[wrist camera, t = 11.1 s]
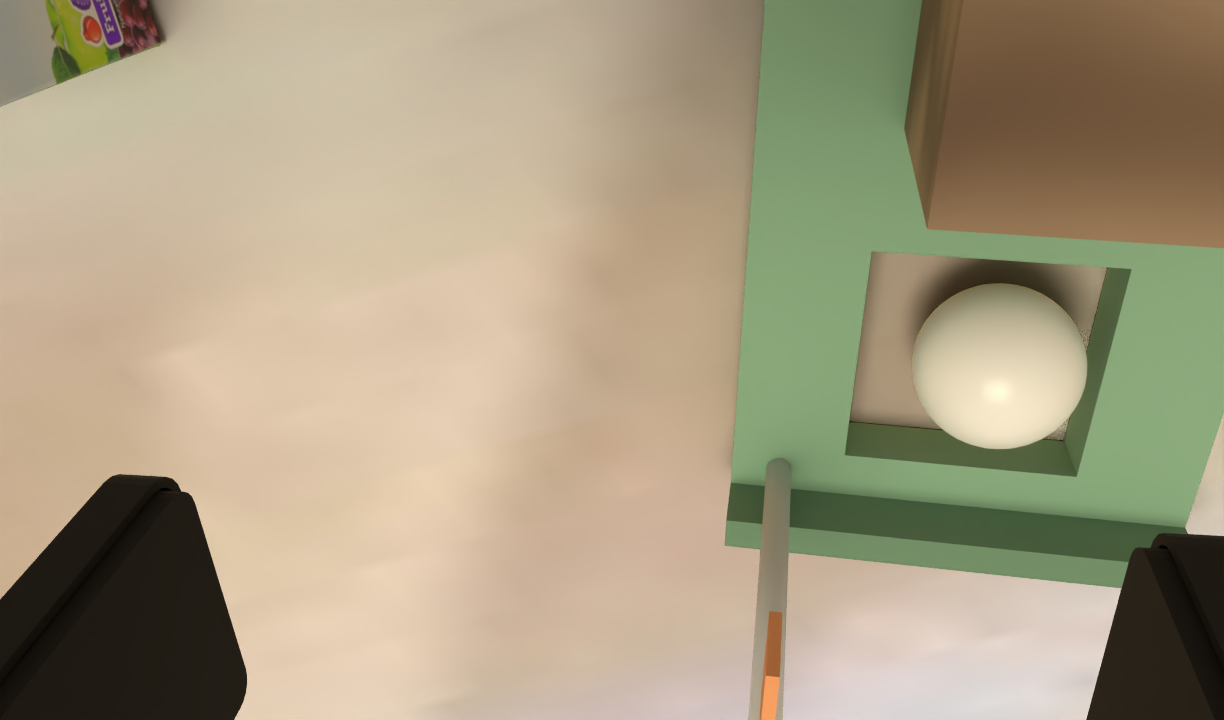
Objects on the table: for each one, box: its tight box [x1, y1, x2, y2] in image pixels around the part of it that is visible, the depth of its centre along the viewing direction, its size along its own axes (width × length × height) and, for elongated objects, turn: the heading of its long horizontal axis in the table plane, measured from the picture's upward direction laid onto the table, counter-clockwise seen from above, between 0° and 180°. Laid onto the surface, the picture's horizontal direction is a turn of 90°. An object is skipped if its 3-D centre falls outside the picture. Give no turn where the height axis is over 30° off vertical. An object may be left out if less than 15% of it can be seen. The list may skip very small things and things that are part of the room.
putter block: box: [904, 0, 1224, 248], centre depth 24 cm, size 5×6×7 cm
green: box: [725, 0, 1224, 720], centre depth 24 cm, size 25×14×14 cm, turn 0°
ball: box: [911, 283, 1087, 449], centre depth 31 cm, size 5×5×5 cm
